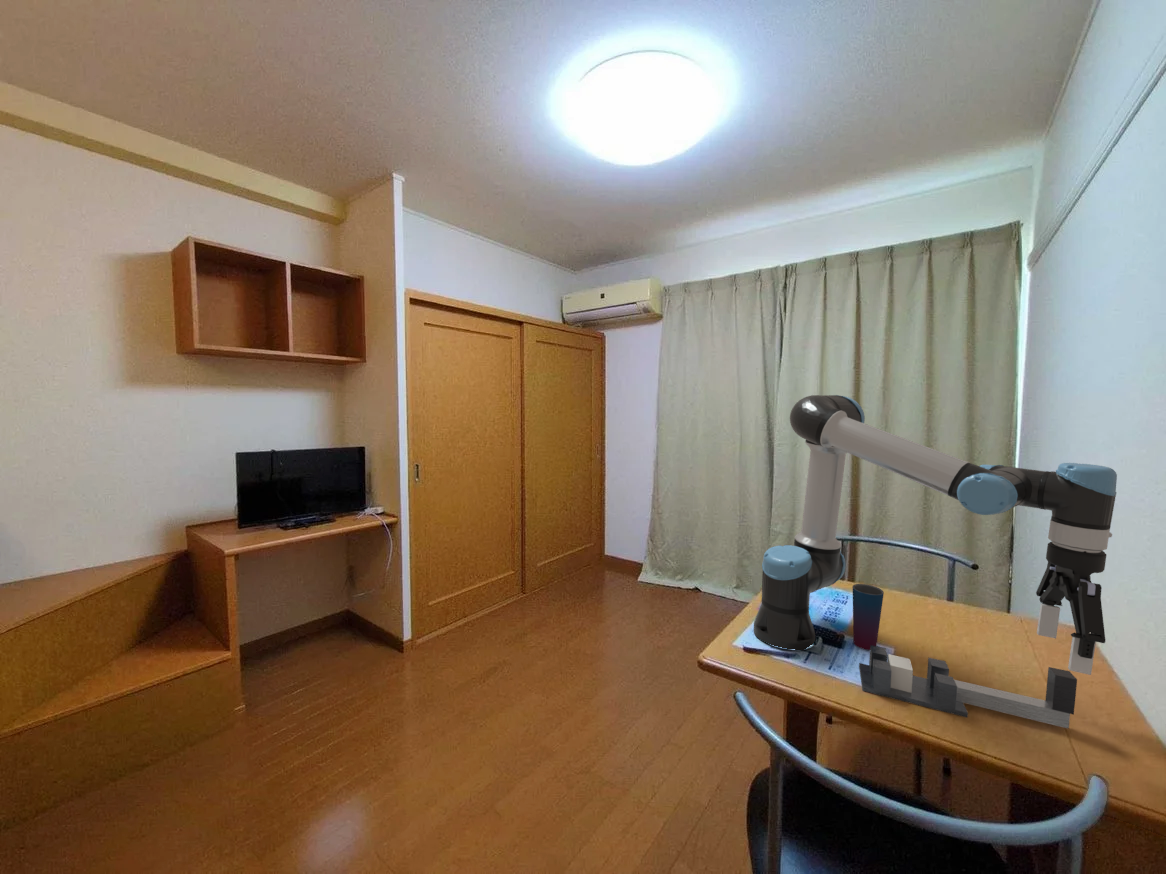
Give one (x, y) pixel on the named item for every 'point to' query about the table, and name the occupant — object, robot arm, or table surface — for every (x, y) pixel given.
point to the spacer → (901, 673)
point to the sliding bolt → (1027, 699)
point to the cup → (866, 614)
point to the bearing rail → (913, 684)
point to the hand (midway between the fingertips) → (1061, 652)
